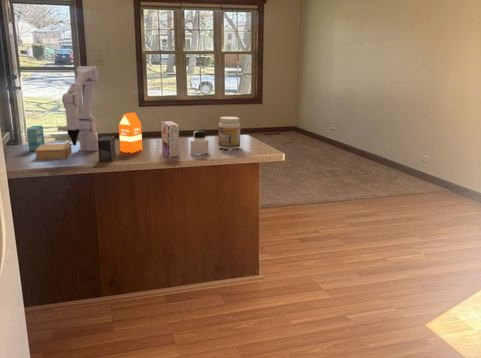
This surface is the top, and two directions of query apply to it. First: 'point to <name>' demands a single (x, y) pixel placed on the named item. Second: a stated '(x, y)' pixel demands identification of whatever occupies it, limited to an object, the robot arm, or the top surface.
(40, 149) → the mailer lid
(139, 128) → the orange juice
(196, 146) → the medicine bottle
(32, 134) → the data package
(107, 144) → the small box
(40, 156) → the mailer box
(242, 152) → the top surface
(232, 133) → the supplement tub
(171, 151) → the candy box
